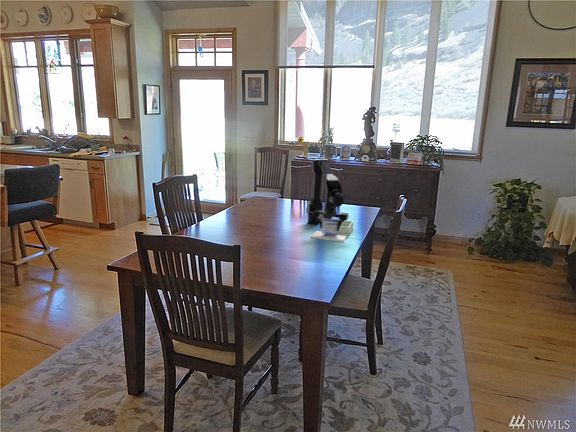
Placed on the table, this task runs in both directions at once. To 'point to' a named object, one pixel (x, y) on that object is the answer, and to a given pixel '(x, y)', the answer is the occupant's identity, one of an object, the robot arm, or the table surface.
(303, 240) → the table surface
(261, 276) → the table surface
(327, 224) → the medicine box
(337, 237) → the tray
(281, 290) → the table surface
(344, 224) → the sage bin
